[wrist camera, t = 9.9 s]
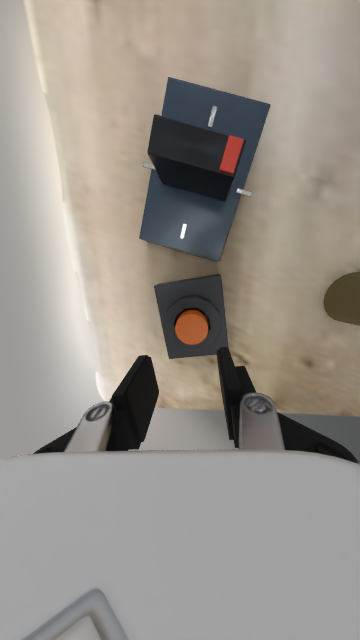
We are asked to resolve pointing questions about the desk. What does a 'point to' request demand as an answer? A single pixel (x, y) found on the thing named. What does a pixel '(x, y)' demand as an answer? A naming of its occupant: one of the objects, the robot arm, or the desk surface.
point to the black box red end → (194, 157)
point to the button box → (193, 296)
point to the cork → (344, 299)
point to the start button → (191, 327)
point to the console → (192, 208)
